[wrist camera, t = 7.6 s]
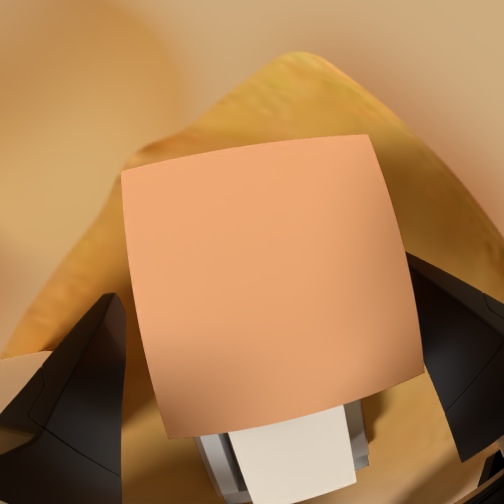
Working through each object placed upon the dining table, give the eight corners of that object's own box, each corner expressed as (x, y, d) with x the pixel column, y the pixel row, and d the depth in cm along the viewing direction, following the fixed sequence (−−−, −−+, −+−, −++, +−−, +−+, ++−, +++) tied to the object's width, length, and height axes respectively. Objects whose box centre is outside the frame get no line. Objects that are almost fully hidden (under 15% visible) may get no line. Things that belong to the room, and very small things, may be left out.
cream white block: (324, 437, 17) (356, 482, 11) (249, 458, 16) (256, 511, 10) (309, 371, 17) (342, 400, 11) (229, 392, 17) (227, 432, 11)
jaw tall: (296, 327, 18) (424, 372, 5) (214, 344, 17) (168, 439, 4) (279, 246, 18) (368, 134, 6) (197, 262, 18) (120, 171, 5)
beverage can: (116, 373, 18) (2, 433, 6) (106, 463, 16) (30, 553, 4) (28, 334, 17) (-92, 342, 6) (24, 421, 16) (-71, 466, 4)
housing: (363, 448, 18) (384, 469, 14) (217, 488, 16) (215, 517, 13) (305, 197, 20) (319, 176, 17) (146, 233, 19) (128, 218, 16)
